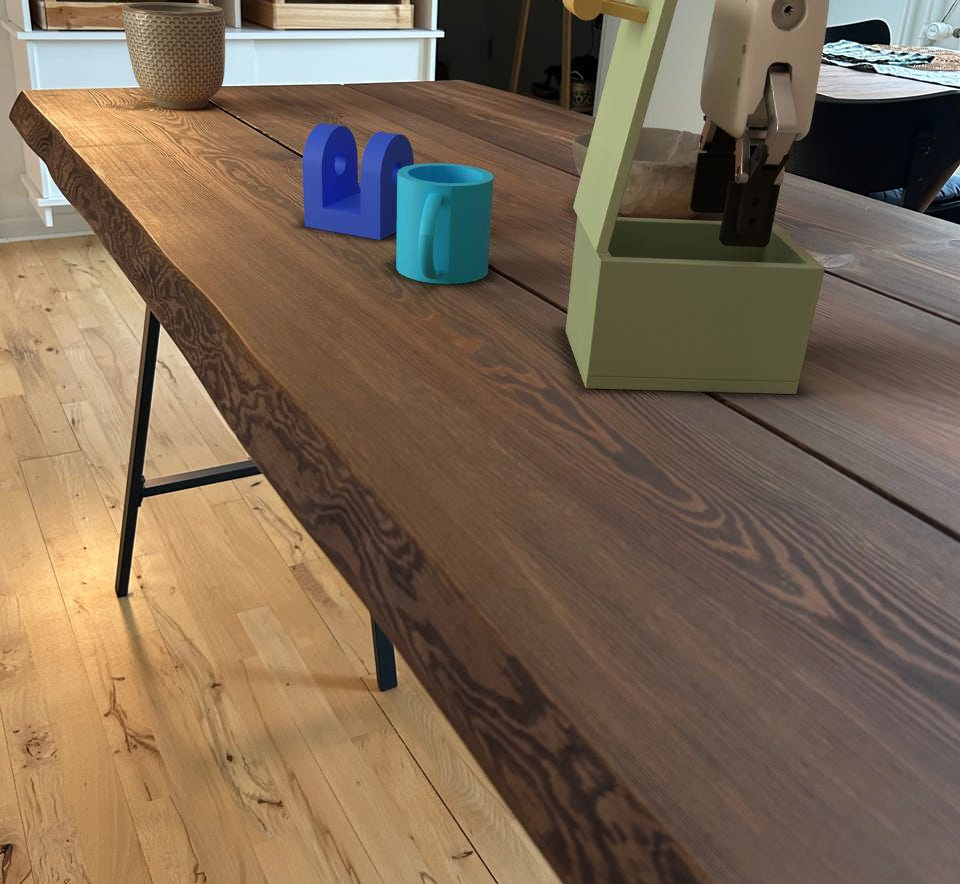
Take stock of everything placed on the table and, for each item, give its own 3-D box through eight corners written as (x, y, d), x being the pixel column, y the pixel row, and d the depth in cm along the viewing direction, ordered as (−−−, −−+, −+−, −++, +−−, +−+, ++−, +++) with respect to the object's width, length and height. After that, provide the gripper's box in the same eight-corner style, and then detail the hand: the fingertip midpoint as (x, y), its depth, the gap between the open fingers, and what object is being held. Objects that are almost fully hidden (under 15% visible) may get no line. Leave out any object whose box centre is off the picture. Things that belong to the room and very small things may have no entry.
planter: (200, 94, 159) (193, 1, 152) (249, 109, 150) (243, 11, 144) (115, 101, 151) (103, 2, 144) (161, 117, 142) (151, 13, 135)
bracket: (380, 240, 98) (380, 140, 93) (304, 226, 100) (301, 129, 95) (458, 200, 112) (461, 112, 107) (390, 189, 114) (391, 103, 110)
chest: (752, 337, 80) (775, 223, 76) (796, 394, 71) (825, 268, 67) (565, 331, 79) (577, 215, 75) (585, 388, 70) (600, 259, 65)
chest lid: (646, -30, 67) (566, -50, 66) (683, -19, 57) (590, -42, 57) (583, 210, 75) (511, 195, 74) (607, 254, 65) (524, 237, 64)
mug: (407, 251, 95) (409, 159, 91) (495, 260, 94) (500, 168, 90) (374, 292, 85) (374, 191, 80) (472, 302, 84) (477, 201, 80)
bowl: (599, 187, 121) (607, 115, 117) (747, 212, 115) (761, 136, 110) (539, 220, 107) (546, 139, 103) (704, 250, 101) (718, 165, 96)
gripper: (898, -61, 54) (823, 269, 63) (793, -70, 69) (745, 198, 78) (758, -69, 53) (703, 265, 63) (683, -77, 68) (647, 194, 77)
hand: (726, 226), depth 70 cm, fingers open, 7 cm apart
